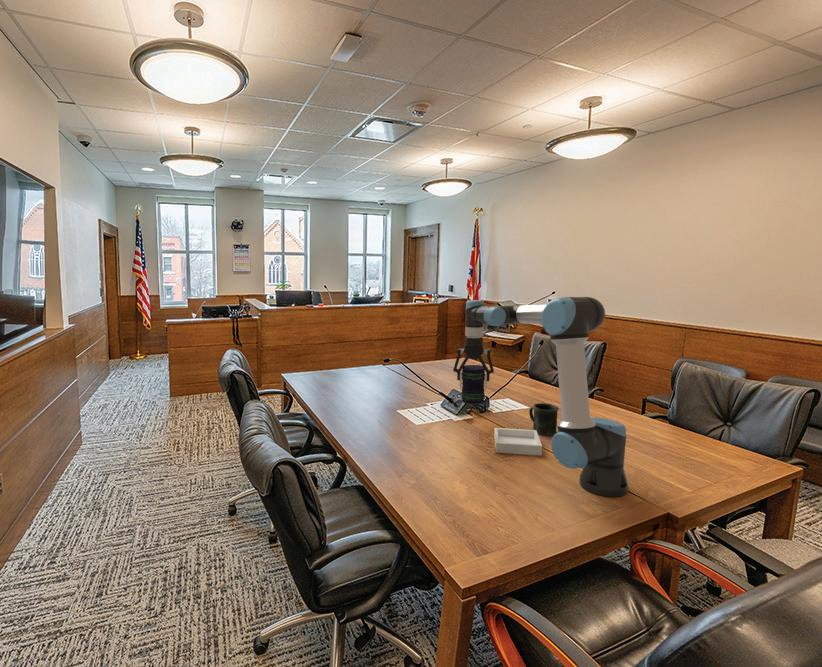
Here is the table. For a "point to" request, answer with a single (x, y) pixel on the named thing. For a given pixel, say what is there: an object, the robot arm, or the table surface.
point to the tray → (517, 441)
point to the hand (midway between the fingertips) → (473, 388)
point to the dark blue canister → (473, 384)
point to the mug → (544, 418)
